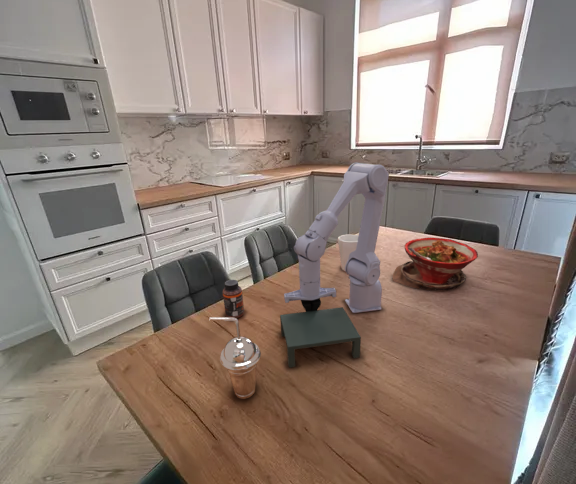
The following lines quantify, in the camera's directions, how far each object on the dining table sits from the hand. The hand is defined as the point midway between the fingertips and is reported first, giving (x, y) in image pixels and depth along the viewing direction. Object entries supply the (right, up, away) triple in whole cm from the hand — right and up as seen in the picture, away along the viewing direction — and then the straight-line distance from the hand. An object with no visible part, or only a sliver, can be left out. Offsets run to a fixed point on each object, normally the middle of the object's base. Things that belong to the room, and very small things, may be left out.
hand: (310, 319), depth 90 cm
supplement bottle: (-23, 0, +8) cm, 25 cm away
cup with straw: (-16, -12, -21) cm, 29 cm away
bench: (+1, -5, -7) cm, 9 cm away
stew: (+46, +10, +24) cm, 53 cm away
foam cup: (+18, +13, +36) cm, 43 cm away
